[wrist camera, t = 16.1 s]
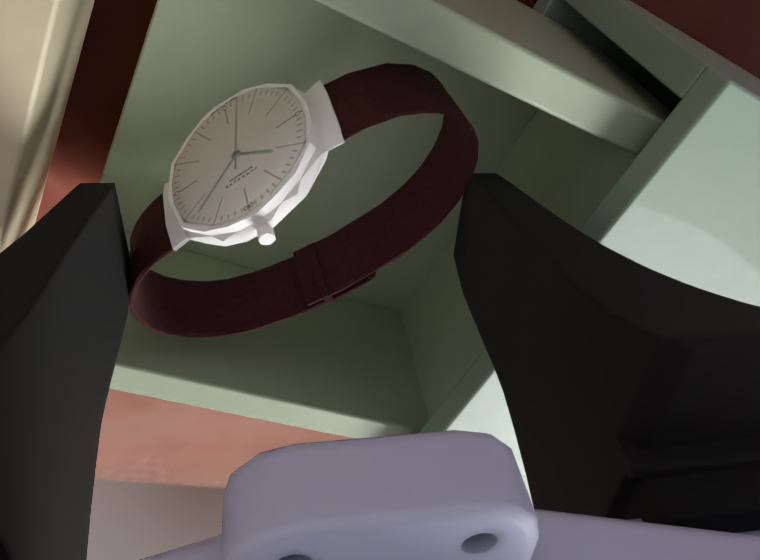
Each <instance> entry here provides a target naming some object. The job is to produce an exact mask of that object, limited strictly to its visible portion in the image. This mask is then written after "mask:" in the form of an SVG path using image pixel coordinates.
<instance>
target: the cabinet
mask: <svg viewBox="0 0 760 560" xmlns="http://www.w3.org/2000/svg"><path fill="white" fill-rule="evenodd" d="M532 9H534V10H535V11H537V12H539V13H541V14H543V15H544V16H546V17H548V18H550V19H552V20H553V21H555V22H557V23H559V24H560V25H562V26H564V27H566V28H568V29H569V30H571V31H573V32H575V33H577V34H578V35H580V36H582V37H584V38H586V39H587V40H589V41H591V42H593V43H594V44H595V45H596V46H598V47H599V48H600V49H601V50H602V51H603V52H604V53H605V54H607V55H608V56H609V57H610V58H611V59H612V60H613V61H615V62H616V63H617V64H618V65H619V66H620V67H621V68H622V69H623V70H625V71H626V72H627V73H628V74H629V75H630V76H631V77H632V78H634V79H635V80H636V81H637V82H638V83H639V84H640V85H641V86H643V87H644V88H645V89H646V90H647V91H648V92H649V93H650V94H652V95H653V96H654V97H655V98H656V99H657V100H658V101H659V102H661V103H662V104H663V105H664V106H665V107H666V108H667V109H668V110H670V111H671V114H670V115H669V116H668V117H667V119H666V120H665V121H664V123H663V124H662V125H661V126H660V128H659V129H658V130H657V131H656V133H655V134H654V135H653V136H652V138H651V139H650V140H649V142H648V143H647V144H646V145H645V147H644V148H643V149H642V150H641V152H640V153H639V154H638V155H637V157H636V158H635V159H634V161H633V162H632V163H631V164H630V166H629V167H628V168H627V169H626V171H625V172H624V173H623V174H622V176H621V177H620V178H619V180H618V181H617V182H616V183H615V185H614V186H613V187H612V188H611V190H610V191H609V192H608V194H607V195H606V196H605V197H604V199H603V200H602V201H601V202H600V204H599V205H598V206H597V207H596V209H595V210H594V211H593V213H592V214H591V215H590V216H589V218H588V219H587V220H586V221H585V223H584V224H583V225H582V226H581V228H580V229H579V231H581V232H582V233H584V234H586V235H587V236H589V237H590V238H592V239H594V240H595V241H597V242H599V243H600V244H602V245H604V246H606V247H608V248H609V249H611V250H613V251H615V252H617V253H619V254H621V255H623V256H625V257H627V258H629V259H631V260H633V261H635V262H637V263H639V264H641V265H643V266H645V267H647V268H650V269H652V270H654V271H656V272H659V273H661V274H664V275H666V276H669V277H671V278H673V279H676V280H678V281H681V282H683V283H686V284H689V285H691V286H694V287H697V288H700V289H703V290H706V291H708V292H712V293H715V294H718V295H721V296H724V297H728V298H731V299H734V300H737V301H741V302H744V303H748V304H752V305H756V306H760V79H759V78H757V77H755V76H754V75H752V74H751V73H749V72H747V71H746V70H744V69H742V68H741V67H739V66H737V65H736V64H734V63H732V62H731V61H729V60H727V59H726V58H724V57H723V56H721V55H719V54H718V53H716V52H714V51H713V50H711V49H709V48H708V47H706V46H704V45H703V44H701V43H700V42H698V41H696V40H695V39H693V38H691V37H690V36H688V35H686V34H685V33H683V32H681V31H680V30H678V29H676V28H675V27H673V26H672V25H670V24H668V23H667V22H665V21H663V20H662V19H660V18H658V17H657V16H655V15H653V14H652V13H650V12H649V11H647V10H645V9H644V8H642V7H640V6H639V5H637V4H635V3H634V2H632V1H630V0H537V2H536V4H535V5H534V7H533V8H532ZM450 430H459V431H470V432H480V433H487V434H491V435H493V436H494V437H496V438H497V439H498V440H500V441H501V442H503V443H504V444H506V445H507V446H508V447H510V448H511V449H512V451H513V454H514V457H515V459H516V462H517V465H518V467H519V470H520V473H521V475H522V478H523V481H524V483H525V486H526V489H527V492H528V494H529V497H530V500H531V502H532V499H531V495H530V490H529V486H528V482H527V477H526V473H525V469H524V465H523V461H522V458H521V454H520V450H519V446H518V442H517V439H516V435H515V431H514V427H513V424H512V420H511V417H510V414H509V410H508V407H507V403H506V400H505V396H504V393H503V390H502V387H501V385H500V382H499V379H498V376H497V374H496V371H495V369H494V367H493V364H492V362H491V360H490V357H489V355H488V352H487V350H486V348H485V349H484V351H483V352H482V353H481V354H480V356H479V357H478V358H477V360H476V361H475V362H474V363H473V365H472V366H471V367H470V368H469V370H468V371H467V372H466V373H465V375H464V376H463V377H462V379H461V380H460V381H459V382H458V384H457V385H456V386H455V387H454V389H453V390H452V391H451V392H450V394H449V395H448V396H447V398H446V399H445V400H444V401H443V403H442V404H441V405H440V406H439V408H438V409H437V410H436V411H435V413H434V414H433V415H432V417H431V418H430V419H429V420H428V422H427V423H426V424H425V425H424V427H423V428H422V429H421V430H420V432H419V433H427V432H438V431H450ZM532 505H533V503H532ZM533 508H534V507H533Z"/></svg>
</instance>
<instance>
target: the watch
mask: <svg viewBox="0 0 760 560" xmlns="http://www.w3.org/2000/svg"><path fill="white" fill-rule="evenodd" d="M422 113H439V114H444V116H443V122H442V127H441V130H440V132H439V135H438V137H437V140H436V142H435V145H434V147H433V148H432V150H431V151H430V153H429V154H428V156H427V157H426V159H425V160H424V162H423V163H422V165H421V166H420V167H419V168H418V170H417V171H416V172H415V173H414V174H413V175H412V176H411V177H410V178H409V179H408V180H407V182H406V183H405V184H404V185H402V186H401V187H400V188H399V189H398V190H397V191H395V192H394V193H393V194H392V195H391V196H389V197H388V198H387V199H386V200H385V201H383V202H382V203H381V204H380V205H378V206H377V207H375V208H373V209H372V210H370V211H368V212H367V213H365V214H364V215H362V216H360V217H359V218H357V219H355V220H354V221H352V222H351V223H349V224H347V225H346V226H344V227H342V228H341V229H339V230H338V231H336V232H334V233H333V234H331V235H330V236H328V237H325V238H323V239H321V240H319V241H317V242H314V243H311V244H309V245H307V246H306V247H303V248H301V249H299V250H297V251H295V252H293V257H291V258H288V259H286V260H283V261H281V262H278V263H276V264H273V265H271V266H268V267H266V268H263V269H261V270H258V271H255V272H252V273H248V274H244V275H241V276H237V277H233V278H230V279H223V280H213V281H192V280H180V279H176V278H171V277H167V276H163V275H161V274H159V273H157V272H155V271H152V270H150V269H151V268H152V267H153V266H154V265H155V263H157V262H158V261H159V260H161V259H162V258H164V257H165V256H166V255H168V254H169V253H170V252H172V251H173V250H175V251H177V250H178V249H179V248H180V247H182V246H183V245H184V244H185V243H187V242H188V241H189V240H194V241H198V242H202V243H206V244H213V245H220V246H230V245H234V244H238V243H242V242H247V241H249V240H251V239H253V238H254V237H256V236H258V240H259V242H260V244H262V245H270V244H272V243H273V242H274V241H275V240H276V238H275V233H274V229H273V227H275V226H276V225H277V224H278V223H279V222H280V221H281V220H282V219H283V218H284V217H285V216H286V215H287V214H288V213H289V212H290V211H291V210H292V209H293V208H295V207H296V206H297V205H298V204H299V203H300V202H301V201H302V200H303V199H304V198H305V197H306V196H307V194H308V193H309V191H310V189H311V187H312V185H313V183H314V182H315V180H316V178H317V176H318V174H319V172H320V171H321V169H322V167H323V165H324V163H325V161H326V159H327V155H328V151H329V150H331V149H333V148H335V147H337V146H339V145H341V144H343V143H345V140H346V139H348V138H349V137H351V136H353V135H355V134H357V133H359V132H360V131H362V130H364V129H366V128H369V127H371V126H374V125H377V124H380V123H382V122H385V121H388V120H391V119H393V118H396V117H399V116H407V115H414V114H422ZM478 146H479V142H478V139H477V136H476V133H475V131H474V128H473V126H472V125H471V124H470V123H469V121H468V120H467V118H466V117H465V115H464V114H463V112H462V111H461V110H460V108H459V107H458V106H457V104H456V103H455V101H454V100H453V99H452V97H451V96H450V95H449V93H448V92H447V91H446V89H445V88H444V86H443V85H442V83H441V82H440V81H439V80H438V79H437V78H436V77H435V76H434V75H433V74H432V73H431V72H429V71H427V70H424V69H422V68H420V67H418V66H415V65H412V64H393V63H384V64H381V65H377V66H373V67H369V68H366V69H362V70H358V71H354V72H351V73H347V74H345V75H343V76H341V77H339V78H337V79H335V80H333V81H331V82H329V83H327V84H324V85H323V84H322V83H321V81H320V80H319V81H318V82H317V83H316V84H315V85H313V86H312V87H311V88H310V89H309V90H308V91H307V92H306V93H305V92H302V91H300V90H297V89H296V88H295V87H294V86H293V85H292V84H270V83H267V84H263V85H259V86H255V87H251V88H247V89H243V90H242V91H240V92H238V93H237V94H235V95H233V96H232V97H230V98H228V99H227V100H225V101H224V102H222V103H220V104H219V105H217V106H216V107H214V108H213V109H212V110H211V111H210V112H209V113H208V114H206V115H205V116H204V117H203V118H202V119H201V121H200V122H199V123H198V125H197V126H196V127H195V128H194V130H193V131H192V132H191V134H190V135H189V136H188V137H187V139H186V140H185V142H184V144H183V146H182V147H181V149H180V151H179V152H178V154H177V156H176V157H175V159H174V161H173V162H172V164H171V170H170V178H169V182H168V183H165V184H164V191H163V193H162V194H161V195H159V196H158V197H157V198H156V199H155V200H154V201H153V202H152V203H151V204H150V205H149V206H148V207H147V208H146V209H145V211H144V212H143V213H142V214H141V216H140V217H139V219H138V220H137V222H136V224H135V226H134V229H133V231H132V234H131V236H130V252H129V254H130V288H129V301H130V302H129V306H130V310H131V312H132V315H133V317H134V318H135V319H136V320H137V321H138V322H140V323H141V324H142V325H144V326H145V327H146V328H148V329H150V330H152V331H154V332H157V333H159V334H164V335H171V336H179V337H186V338H216V337H223V336H230V335H237V334H241V333H244V332H248V331H251V330H255V329H258V328H262V327H266V326H269V325H272V324H275V323H278V322H280V321H283V320H286V319H288V318H291V317H294V316H297V315H299V314H302V313H305V312H307V311H310V310H313V309H315V308H317V307H319V306H321V305H324V304H326V303H327V304H331V303H335V302H336V300H335V299H336V298H339V297H341V296H343V295H345V294H347V293H349V292H351V291H353V290H355V289H357V288H359V287H361V286H363V285H364V284H366V283H367V282H369V281H370V280H372V279H373V278H374V277H375V276H376V271H377V270H379V269H381V268H382V267H384V266H386V265H388V264H389V263H391V262H393V261H394V260H396V259H398V258H399V257H401V256H402V255H403V254H405V253H406V252H407V251H409V250H410V249H411V248H413V247H414V246H415V245H417V244H418V243H419V242H420V241H421V240H422V239H424V238H425V237H426V236H427V235H428V234H429V233H431V232H432V231H433V230H434V229H435V228H436V227H437V226H438V225H440V224H441V222H442V221H443V220H444V219H445V218H446V216H447V215H448V214H449V213H450V211H451V210H452V209H453V208H454V207H455V205H456V204H457V203H458V202H459V200H460V199H461V197H462V195H463V193H464V192H465V190H466V188H467V186H468V183H469V178H470V176H471V177H472V176H473V173H474V170H475V167H476V164H477V161H478Z"/></svg>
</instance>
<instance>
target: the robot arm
mask: <svg viewBox="0 0 760 560" xmlns="http://www.w3.org/2000/svg"><path fill="white" fill-rule="evenodd" d="M453 255H454V259H455V264H456V268H457V272H458V276H459V280H460V284H461V288H462V291H463V295H464V297H465V300H466V302H467V305H468V307H469V310H470V312H471V314H472V317H473V319H474V322H475V324H476V326H477V329H478V331H479V334H480V336H481V338H482V341H483V343H484V345H485V348H486V350H487V352H488V355H489V357H490V360H491V362H492V364H493V367H494V369H495V371H496V374H497V376H498V379H499V382H500V385H501V387H502V390H503V393H504V396H505V400H506V403H507V407H508V410H509V414H510V417H511V420H512V424H513V427H514V431H515V435H516V439H517V442H518V446H519V450H520V454H521V458H522V461H523V465H524V469H525V473H526V477H527V482H528V486H529V490H530V495H531V499H532V502H531V500H530V497H529V494H528V492H527V489H526V486H525V483H524V481H523V478H522V475H521V473H520V470H519V467H518V465H517V462H516V459H515V457H514V454H513V451H512V449H511V448H510V447H508V446H507V445H506V444H504V443H503V442H501V441H500V440H498V439H497V438H496V437H494V436H493V435H491V434H487V433H480V432H470V431H459V430H450V431H438V432H427V433H415V434H404V435H392V436H381V437H369V438H358V439H346V440H335V441H323V442H312V443H300V444H293V445H289V446H285V447H281V448H277V449H273V450H269V451H265V452H261V453H259V454H258V455H256V456H255V457H253V458H252V459H251V460H249V461H248V462H247V463H245V464H244V465H243V466H241V467H240V468H239V469H237V470H236V471H234V472H233V473H232V474H230V477H229V480H228V483H227V486H226V489H225V492H224V496H223V511H222V512H223V513H222V534H221V535H219V536H215V537H212V538H208V539H205V540H202V541H199V542H196V543H192V544H189V545H186V546H183V547H179V548H177V549H173V550H170V551H167V552H164V553H160V554H157V555H154V556H151V557H147V558H144V559H141V560H760V306H756V305H752V304H748V303H744V302H741V301H737V300H734V299H731V298H728V297H724V296H721V295H718V294H715V293H712V292H708V291H706V290H703V289H700V288H697V287H694V286H691V285H689V284H686V283H683V282H681V281H678V280H676V279H673V278H671V277H669V276H666V275H664V274H661V273H659V272H656V271H654V270H652V269H650V268H647V267H645V266H643V265H641V264H639V263H637V262H635V261H633V260H631V259H629V258H627V257H625V256H623V255H621V254H619V253H617V252H615V251H613V250H611V249H609V248H608V247H606V246H604V245H602V244H600V243H599V242H597V241H595V240H594V239H592V238H590V237H589V236H587V235H586V234H584V233H582V232H581V231H579V230H577V229H576V228H574V227H573V226H571V225H570V224H568V223H567V222H565V221H564V220H562V219H561V218H559V217H558V216H556V215H555V214H554V213H552V212H551V211H549V210H548V209H546V208H545V207H544V206H542V205H541V204H539V203H538V202H537V201H535V200H534V199H532V198H531V197H530V196H528V195H527V194H526V193H524V192H523V191H521V190H520V189H519V188H517V187H516V186H514V185H513V184H512V183H510V182H509V181H507V180H506V179H504V178H503V177H501V176H499V175H498V174H496V173H473V176H472V177H471V176H470V178H469V183H468V186H467V188H466V190H465V192H464V193H463V197H462V204H461V210H460V216H459V222H458V229H457V235H456V241H455V247H454V254H453ZM129 288H130V254H129V249H128V245H127V240H126V235H125V230H124V226H123V221H122V216H121V211H120V206H119V202H118V197H117V192H116V187H115V183H80V184H79V185H78V186H77V187H75V188H74V189H73V190H72V191H71V192H70V193H69V194H68V195H66V196H65V197H64V198H63V199H62V200H61V201H60V202H59V203H58V204H57V205H56V206H55V207H53V208H52V209H51V210H50V211H49V212H48V213H47V214H46V215H45V216H44V217H42V218H41V219H40V220H39V221H38V222H37V223H36V224H35V225H33V226H32V227H31V228H30V229H29V230H28V231H27V232H26V233H24V234H23V235H22V236H21V237H20V238H18V239H17V240H16V241H15V242H13V243H12V244H11V245H10V246H8V247H7V248H6V249H5V250H3V251H2V252H1V253H0V560H86V558H87V545H88V534H89V524H90V513H91V504H92V494H93V486H94V477H95V468H96V460H97V452H98V444H99V437H100V429H101V422H102V417H103V413H104V408H105V403H106V399H107V395H108V391H109V387H110V383H111V379H112V376H113V372H114V368H115V364H116V360H117V356H118V352H119V348H120V344H121V340H122V336H123V332H124V328H125V324H126V320H127V316H128V311H129V302H130V301H129ZM532 503H533V505H532ZM533 507H534V508H533Z"/></svg>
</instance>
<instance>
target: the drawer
mask: <svg viewBox="0 0 760 560" xmlns="http://www.w3.org/2000/svg"><path fill="white" fill-rule="evenodd" d="M94 1H95V0H0V253H1V252H2V251H3V250H5V249H6V248H7V247H8V246H10V245H11V244H12V243H13V242H15V241H16V240H17V239H18V238H20V237H21V236H22V235H23V234H24V233H26V232H27V231H28V230H29V229H30V228H31V227H32V226H33V225H35V222H36V218H37V214H38V211H39V207H40V203H41V199H42V196H43V192H44V188H45V184H46V181H47V177H48V173H49V169H50V166H51V162H52V158H53V155H54V151H55V147H56V143H57V140H58V136H59V132H60V128H61V125H62V121H63V117H64V113H65V110H66V106H67V102H68V98H69V95H70V91H71V87H72V83H73V80H74V76H75V72H76V68H77V65H78V61H79V57H80V53H81V50H82V46H83V42H84V39H85V35H86V31H87V27H88V24H89V20H90V16H91V12H92V9H93V5H94ZM384 63H393V64H412V65H415V66H418V67H420V68H422V69H424V70H427V71H429V72H431V73H432V74H433V75H434V76H435V77H436V78H437V79H438V80H439V81H440V82H441V83H442V85H443V86H444V88H445V89H446V91H447V92H448V93H449V95H450V96H451V97H452V99H453V100H454V101H455V103H456V104H457V106H458V107H459V108H460V110H461V111H462V112H463V114H464V115H465V117H466V118H467V120H468V121H469V123H470V124H471V125H472V126H473V128H474V131H475V133H476V136H477V139H478V142H479V146H478V161H477V164H476V167H475V170H474V173H496V174H498V175H499V176H501V177H503V178H504V179H506V180H507V181H509V182H510V183H512V184H513V185H514V186H516V187H517V188H519V189H520V190H521V191H523V192H524V193H526V194H527V195H528V196H530V197H531V198H532V199H534V200H535V201H537V202H538V203H539V204H541V205H542V206H544V207H545V208H546V209H548V210H549V211H551V212H552V213H554V214H555V215H556V216H558V217H559V218H561V219H562V220H564V221H565V222H567V223H568V224H570V225H571V226H573V227H574V228H576V229H577V230H579V229H580V228H581V226H582V225H583V224H584V223H585V221H586V220H587V219H588V218H589V216H590V215H591V214H592V213H593V211H594V210H595V209H596V207H597V206H598V205H599V204H600V202H601V201H602V200H603V199H604V197H605V196H606V195H607V194H608V192H609V191H610V190H611V188H612V187H613V186H614V185H615V183H616V182H617V181H618V180H619V178H620V177H621V176H622V174H623V173H624V172H625V171H626V169H627V168H628V167H629V166H630V164H631V163H632V162H633V161H634V159H635V158H636V157H637V155H638V154H639V153H640V152H641V150H642V149H643V148H644V147H645V145H646V144H647V143H648V142H649V140H650V139H651V138H652V136H653V135H654V134H655V133H656V131H657V130H658V129H659V128H660V126H661V125H662V124H663V123H664V121H665V120H666V119H667V117H668V116H669V115H670V114H671V111H670V110H668V109H667V108H666V107H665V106H664V105H663V104H662V103H661V102H659V101H658V100H657V99H656V98H655V97H654V96H653V95H652V94H650V93H649V92H648V91H647V90H646V89H645V88H644V87H643V86H641V85H640V84H639V83H638V82H637V81H636V80H635V79H634V78H632V77H631V76H630V75H629V74H628V73H627V72H626V71H625V70H623V69H622V68H621V67H620V66H619V65H618V64H617V63H616V62H615V61H613V60H612V59H611V58H610V57H609V56H608V55H607V54H605V53H604V52H603V51H602V50H601V49H600V48H599V47H598V46H596V45H595V44H594V43H593V42H591V41H589V40H587V39H586V38H584V37H582V36H580V35H578V34H577V33H575V32H573V31H571V30H569V29H568V28H566V27H564V26H562V25H560V24H559V23H557V22H555V21H553V20H552V19H550V18H548V17H546V16H544V15H543V14H541V13H539V12H537V11H535V10H534V9H532V8H530V7H528V6H526V5H525V4H523V3H521V2H519V1H517V0H157V2H156V6H155V9H154V12H153V15H152V18H151V21H150V25H149V28H148V31H147V34H146V37H145V40H144V43H143V47H142V50H141V53H140V56H139V59H138V62H137V66H136V69H135V72H134V75H133V78H132V81H131V85H130V88H129V91H128V94H127V97H126V100H125V104H124V107H123V110H122V113H121V116H120V119H119V123H118V126H117V129H116V132H115V135H114V138H113V142H112V145H111V148H110V151H109V154H108V157H107V160H106V164H105V167H104V170H103V173H102V176H101V179H100V183H115V187H116V192H117V197H118V202H119V206H120V211H121V216H122V221H123V226H124V230H125V235H126V240H127V245H128V249H129V252H130V236H131V234H132V231H133V229H134V226H135V224H136V222H137V220H138V219H139V217H140V216H141V214H142V213H143V212H144V211H145V209H146V208H147V207H148V206H149V205H150V204H151V203H152V202H153V201H154V200H155V199H156V198H157V197H158V196H159V195H161V194H162V193H163V191H164V184H165V183H168V182H169V178H170V170H171V164H172V162H173V161H174V159H175V157H176V156H177V154H178V152H179V151H180V149H181V147H182V146H183V144H184V142H185V140H186V139H187V137H188V136H189V135H190V134H191V132H192V131H193V130H194V128H195V127H196V126H197V125H198V123H199V122H200V121H201V119H202V118H203V117H204V116H205V115H206V114H208V113H209V112H210V111H211V110H212V109H213V108H214V107H216V106H217V105H219V104H220V103H222V102H224V101H225V100H227V99H228V98H230V97H232V96H233V95H235V94H237V93H238V92H240V91H242V90H243V89H247V88H251V87H255V86H259V85H263V84H267V83H270V84H292V85H293V86H294V87H295V88H296V89H297V90H300V91H302V92H305V93H306V92H307V91H308V90H309V89H310V88H311V87H312V86H313V85H315V84H316V83H317V82H318V81H319V80H320V81H321V83H322V84H323V85H324V84H327V83H329V82H331V81H333V80H335V79H337V78H339V77H341V76H343V75H345V74H347V73H351V72H354V71H358V70H362V69H366V68H369V67H373V66H377V65H381V64H384ZM443 116H444V114H439V113H422V114H414V115H407V116H399V117H396V118H393V119H391V120H388V121H385V122H382V123H380V124H377V125H374V126H371V127H369V128H366V129H364V130H362V131H360V132H359V133H357V134H355V135H353V136H351V137H349V138H348V139H346V140H345V143H343V144H341V145H339V146H337V147H335V148H333V149H331V150H329V151H328V155H327V159H326V161H325V163H324V165H323V167H322V169H321V171H320V172H319V174H318V176H317V178H316V180H315V182H314V183H313V185H312V187H311V189H310V191H309V193H308V194H307V196H306V197H305V198H304V199H303V200H302V201H301V202H300V203H299V204H298V205H297V206H296V207H295V208H293V209H292V210H291V211H290V212H289V213H288V214H287V215H286V216H285V217H284V218H283V219H282V220H281V221H280V222H279V223H278V224H277V225H276V226H275V227H273V229H274V233H275V238H276V240H275V241H274V242H273V243H272V244H270V245H262V244H260V242H259V240H258V236H256V237H254V238H253V239H251V240H249V241H247V242H242V243H238V244H234V245H230V246H220V245H213V244H206V243H202V242H198V241H194V240H189V241H188V242H187V243H185V244H184V245H183V246H182V247H180V248H179V249H178V250H177V251H175V250H173V251H172V252H170V253H169V254H168V255H166V256H165V257H164V258H162V259H161V260H159V261H158V262H157V263H155V265H154V266H153V267H152V268H151V269H150V270H152V271H155V272H157V273H159V274H161V275H163V276H167V277H171V278H176V279H180V280H192V281H213V280H223V279H230V278H233V277H237V276H241V275H244V274H248V273H252V272H255V271H258V270H261V269H263V268H266V267H268V266H271V265H273V264H276V263H278V262H281V261H283V260H286V259H288V258H291V257H293V252H295V251H297V250H299V249H301V248H303V247H306V246H307V245H309V244H311V243H314V242H317V241H319V240H321V239H323V238H325V237H328V236H330V235H331V234H333V233H334V232H336V231H338V230H339V229H341V228H342V227H344V226H346V225H347V224H349V223H351V222H352V221H354V220H355V219H357V218H359V217H360V216H362V215H364V214H365V213H367V212H368V211H370V210H372V209H373V208H375V207H377V206H378V205H380V204H381V203H382V202H383V201H385V200H386V199H387V198H388V197H389V196H391V195H392V194H393V193H394V192H395V191H397V190H398V189H399V188H400V187H401V186H402V185H404V184H405V183H406V182H407V180H408V179H409V178H410V177H411V176H412V175H413V174H414V173H415V172H416V171H417V170H418V168H419V167H420V166H421V165H422V163H423V162H424V160H425V159H426V157H427V156H428V154H429V153H430V151H431V150H432V148H433V147H434V145H435V142H436V140H437V137H438V135H439V132H440V130H441V127H442V122H443ZM462 197H463V195H462ZM462 197H461V199H460V200H459V202H458V203H457V204H456V205H455V207H454V208H453V209H452V210H451V211H450V213H449V214H448V215H447V216H446V218H445V219H444V220H443V221H442V222H441V224H440V225H438V226H437V227H436V228H435V229H434V230H433V231H432V232H431V233H429V234H428V235H427V236H426V237H425V238H424V239H422V240H421V241H420V242H419V243H418V244H417V245H415V246H414V247H413V248H411V249H410V250H409V251H407V252H406V253H405V254H403V255H402V256H401V257H399V258H398V259H396V260H394V261H393V262H391V263H389V264H388V265H386V266H384V267H382V268H381V269H379V270H377V271H376V276H375V277H374V278H373V279H372V280H370V281H369V282H367V283H366V284H364V285H363V286H361V287H359V288H357V289H355V290H353V291H351V292H349V293H347V294H345V295H343V296H341V297H339V298H336V299H335V300H336V302H335V303H331V304H327V303H326V304H324V305H321V306H319V307H317V308H315V309H313V310H310V311H307V312H305V313H302V314H299V315H297V316H294V317H291V318H288V319H286V320H283V321H280V322H278V323H275V324H272V325H269V326H266V327H262V328H258V329H255V330H251V331H248V332H244V333H241V334H237V335H230V336H223V337H216V338H186V337H179V336H171V335H164V334H159V333H157V332H154V331H152V330H150V329H148V328H146V327H145V326H144V325H142V324H141V323H140V322H138V321H137V320H136V319H135V318H134V317H133V315H132V312H131V310H130V306H129V311H128V316H127V320H126V324H125V328H124V332H123V336H122V340H121V344H120V348H119V352H118V356H117V360H116V364H115V368H114V372H113V376H112V379H111V383H110V387H109V389H114V390H119V391H124V392H129V393H134V394H139V395H144V396H149V397H154V398H158V399H163V400H168V401H173V402H178V403H183V404H188V405H193V406H198V407H202V408H207V409H212V410H217V411H222V412H227V413H232V414H237V415H242V416H246V417H251V418H256V419H261V420H266V421H271V422H276V423H281V424H286V425H290V426H295V427H300V428H305V429H310V430H315V431H320V432H325V433H330V434H335V435H339V436H344V437H349V438H354V439H358V438H369V437H381V436H392V435H404V434H415V433H419V432H420V430H421V429H422V428H423V427H424V425H425V424H426V423H427V422H428V420H429V419H430V418H431V417H432V415H433V414H434V413H435V411H436V410H437V409H438V408H439V406H440V405H441V404H442V403H443V401H444V400H445V399H446V398H447V396H448V395H449V394H450V392H451V391H452V390H453V389H454V387H455V386H456V385H457V384H458V382H459V381H460V380H461V379H462V377H463V376H464V375H465V373H466V372H467V371H468V370H469V368H470V367H471V366H472V365H473V363H474V362H475V361H476V360H477V358H478V357H479V356H480V354H481V353H482V352H483V351H484V349H485V345H484V343H483V341H482V338H481V336H480V334H479V331H478V329H477V326H476V324H475V322H474V319H473V317H472V314H471V312H470V310H469V307H468V305H467V302H466V300H465V297H464V295H463V291H462V288H461V284H460V280H459V276H458V272H457V268H456V264H455V259H454V255H453V254H454V247H455V241H456V235H457V229H458V222H459V216H460V210H461V204H462Z"/></svg>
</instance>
